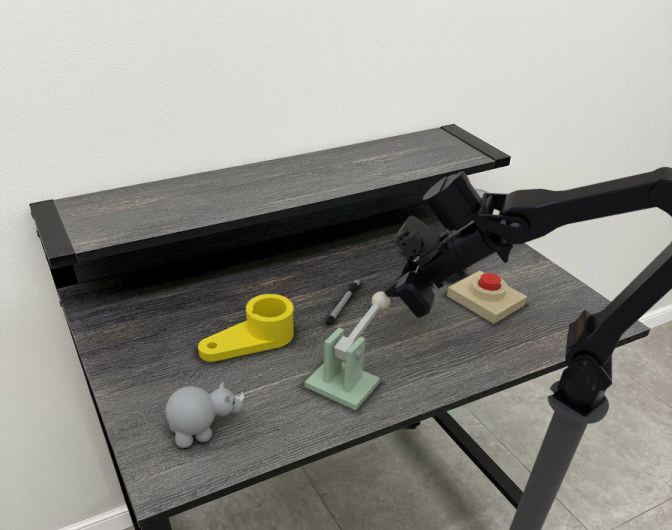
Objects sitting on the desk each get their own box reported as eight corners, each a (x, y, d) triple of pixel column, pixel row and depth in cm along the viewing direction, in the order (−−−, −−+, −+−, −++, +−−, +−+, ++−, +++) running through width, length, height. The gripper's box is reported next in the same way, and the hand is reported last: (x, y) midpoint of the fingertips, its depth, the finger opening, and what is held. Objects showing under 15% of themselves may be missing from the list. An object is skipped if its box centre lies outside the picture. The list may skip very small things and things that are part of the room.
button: (503, 286, 124) (505, 279, 123) (490, 293, 122) (492, 286, 121) (487, 278, 126) (489, 270, 125) (474, 284, 124) (476, 277, 123)
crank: (280, 315, 120) (280, 289, 116) (301, 339, 114) (301, 313, 111) (191, 343, 112) (187, 316, 108) (209, 370, 107) (206, 343, 103)
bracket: (329, 361, 110) (331, 316, 104) (379, 383, 107) (384, 338, 100) (304, 387, 105) (304, 341, 99) (355, 410, 101) (359, 365, 95)
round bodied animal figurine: (253, 434, 97) (250, 394, 91) (175, 456, 93) (168, 416, 87) (239, 404, 101) (236, 364, 96) (165, 423, 98) (157, 383, 92)
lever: (377, 298, 109) (377, 285, 107) (393, 304, 108) (393, 291, 105) (332, 357, 102) (330, 344, 99) (349, 364, 100) (348, 351, 98)
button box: (524, 305, 125) (529, 288, 123) (493, 324, 120) (498, 307, 118) (477, 279, 132) (481, 262, 129) (446, 296, 127) (449, 279, 124)
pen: (325, 324, 118) (325, 319, 117) (356, 280, 130) (356, 275, 129) (331, 326, 118) (331, 320, 117) (362, 282, 129) (362, 277, 129)
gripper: (443, 182, 100) (371, 231, 109) (417, 237, 86) (337, 287, 96) (483, 236, 103) (410, 278, 113) (463, 296, 90) (382, 339, 99)
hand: (386, 293), depth 105 cm, fingers closed
